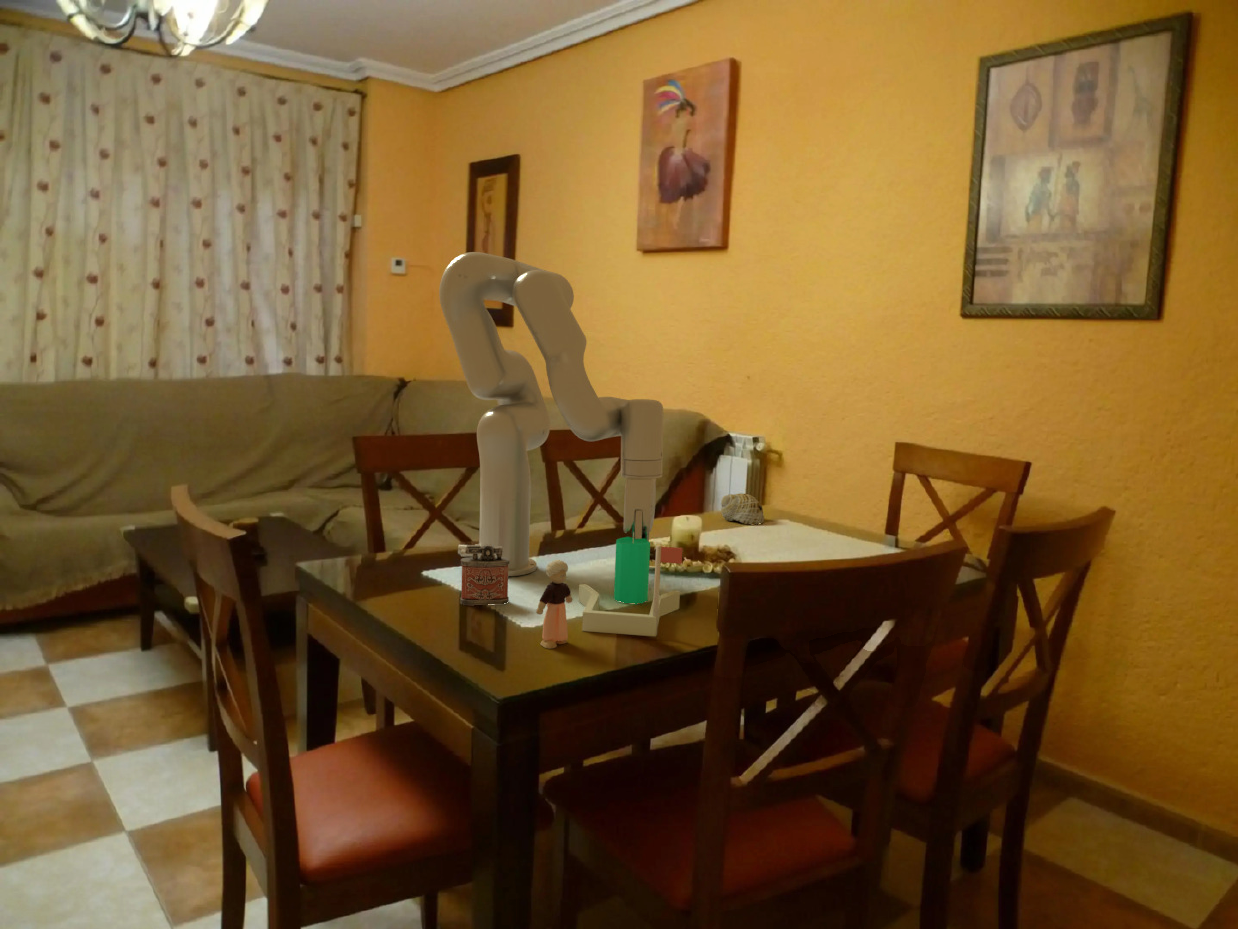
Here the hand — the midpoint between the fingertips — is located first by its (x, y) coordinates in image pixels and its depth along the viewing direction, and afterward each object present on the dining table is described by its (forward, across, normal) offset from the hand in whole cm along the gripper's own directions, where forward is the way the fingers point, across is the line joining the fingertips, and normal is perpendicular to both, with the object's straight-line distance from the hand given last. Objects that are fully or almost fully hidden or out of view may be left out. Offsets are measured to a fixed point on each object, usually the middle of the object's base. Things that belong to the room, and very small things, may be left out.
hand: (640, 567), depth 165 cm
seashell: (+4, -67, +20) cm, 70 cm away
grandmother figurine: (+4, +33, -10) cm, 34 cm away
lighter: (+3, +16, -25) cm, 30 cm away
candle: (+4, +8, -1) cm, 9 cm away
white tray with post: (+4, +19, -1) cm, 19 cm away
